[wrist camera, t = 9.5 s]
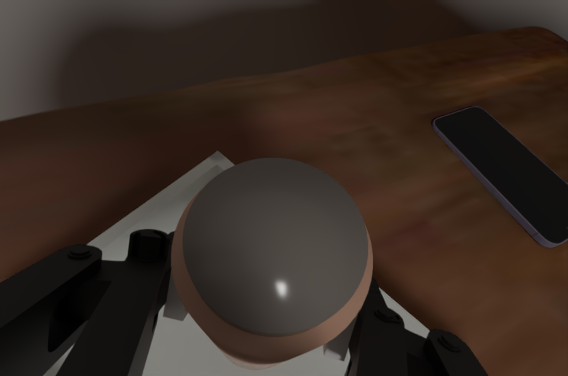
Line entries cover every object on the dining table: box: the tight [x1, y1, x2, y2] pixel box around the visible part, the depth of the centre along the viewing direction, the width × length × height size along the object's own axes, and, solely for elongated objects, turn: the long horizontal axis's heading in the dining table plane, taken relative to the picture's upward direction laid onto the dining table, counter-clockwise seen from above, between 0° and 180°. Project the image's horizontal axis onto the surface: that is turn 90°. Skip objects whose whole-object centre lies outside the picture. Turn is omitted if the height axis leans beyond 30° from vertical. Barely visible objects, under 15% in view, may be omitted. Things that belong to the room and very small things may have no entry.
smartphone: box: [432, 106, 568, 248], centre depth 29 cm, size 7×1×15 cm
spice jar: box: [171, 158, 373, 370], centre depth 13 cm, size 5×5×13 cm
